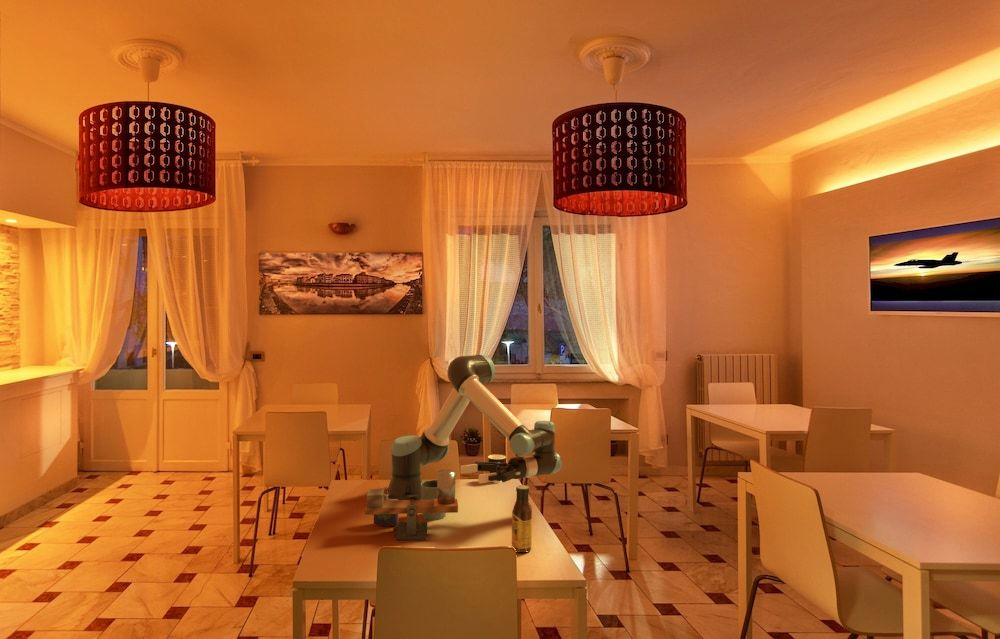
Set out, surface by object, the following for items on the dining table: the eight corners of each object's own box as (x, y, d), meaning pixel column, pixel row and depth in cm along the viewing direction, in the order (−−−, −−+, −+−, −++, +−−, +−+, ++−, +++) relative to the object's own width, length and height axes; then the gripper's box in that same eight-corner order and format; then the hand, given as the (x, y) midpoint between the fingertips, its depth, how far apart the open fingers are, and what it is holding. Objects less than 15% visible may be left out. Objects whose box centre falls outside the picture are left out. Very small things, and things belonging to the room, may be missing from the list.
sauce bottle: (510, 546, 189) (511, 483, 189) (530, 546, 189) (530, 483, 189) (512, 554, 182) (513, 489, 182) (533, 554, 183) (533, 489, 183)
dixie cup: (491, 484, 259) (492, 459, 259) (484, 480, 266) (484, 455, 266) (508, 482, 262) (508, 457, 262) (500, 478, 269) (501, 453, 269)
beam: (364, 515, 194) (365, 496, 194) (367, 507, 202) (368, 488, 202) (457, 513, 197) (458, 494, 197) (456, 505, 205) (457, 487, 205)
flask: (399, 525, 208) (399, 494, 208) (396, 527, 205) (396, 496, 205) (375, 522, 210) (375, 491, 210) (371, 525, 207) (371, 494, 207)
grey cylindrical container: (436, 510, 224) (436, 478, 224) (454, 516, 217) (454, 483, 217) (414, 516, 217) (414, 483, 217) (431, 523, 210) (432, 488, 210)
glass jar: (433, 502, 200) (433, 472, 200) (444, 498, 205) (444, 468, 205) (448, 505, 197) (448, 474, 197) (458, 501, 202) (459, 471, 202)
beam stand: (395, 541, 192) (395, 507, 192) (398, 526, 206) (398, 494, 206) (426, 540, 193) (427, 506, 193) (427, 525, 207) (427, 494, 207)
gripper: (541, 486, 205) (487, 494, 194) (504, 469, 227) (453, 476, 216) (541, 464, 205) (487, 471, 194) (504, 450, 227) (453, 456, 216)
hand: (469, 474), depth 205 cm, fingers open, 13 cm apart
